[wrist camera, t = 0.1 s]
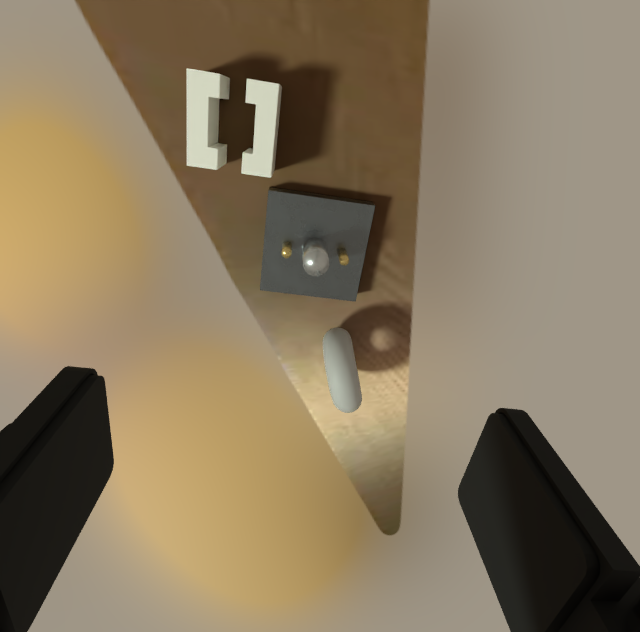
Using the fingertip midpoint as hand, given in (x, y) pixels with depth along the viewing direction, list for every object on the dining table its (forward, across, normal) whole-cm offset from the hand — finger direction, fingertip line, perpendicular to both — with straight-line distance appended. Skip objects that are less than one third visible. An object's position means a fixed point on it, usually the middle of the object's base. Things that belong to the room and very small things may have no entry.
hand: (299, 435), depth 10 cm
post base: (+37, -2, +6) cm, 37 cm away
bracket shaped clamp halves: (+37, +7, -5) cm, 38 cm away
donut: (+37, -7, +19) cm, 42 cm away
